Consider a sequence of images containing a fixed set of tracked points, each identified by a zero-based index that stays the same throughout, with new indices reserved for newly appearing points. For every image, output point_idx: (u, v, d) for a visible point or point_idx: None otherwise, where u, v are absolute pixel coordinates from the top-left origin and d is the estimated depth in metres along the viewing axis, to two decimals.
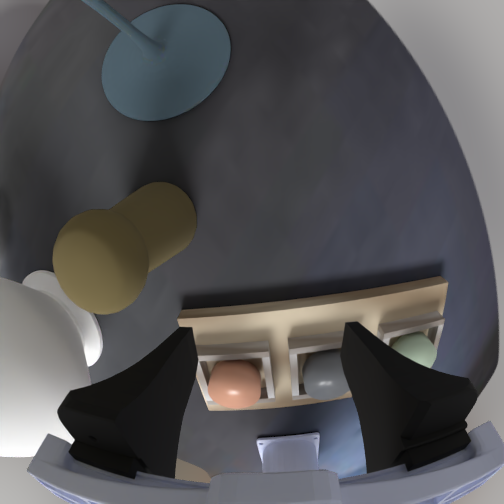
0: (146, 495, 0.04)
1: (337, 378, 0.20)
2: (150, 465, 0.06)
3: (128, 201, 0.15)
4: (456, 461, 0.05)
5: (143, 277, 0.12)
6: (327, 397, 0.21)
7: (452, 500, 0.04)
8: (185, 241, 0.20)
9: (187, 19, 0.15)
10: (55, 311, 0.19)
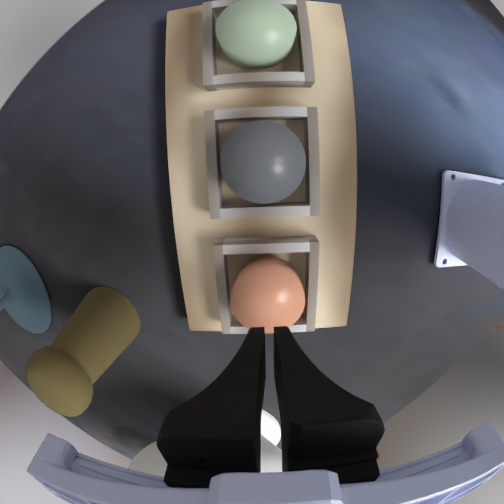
0: (146, 495, 0.04)
1: (254, 151, 0.14)
2: None
3: None
4: (456, 461, 0.05)
5: (52, 359, 0.13)
6: (300, 164, 0.14)
7: (452, 500, 0.04)
8: (110, 303, 0.20)
9: None
10: None
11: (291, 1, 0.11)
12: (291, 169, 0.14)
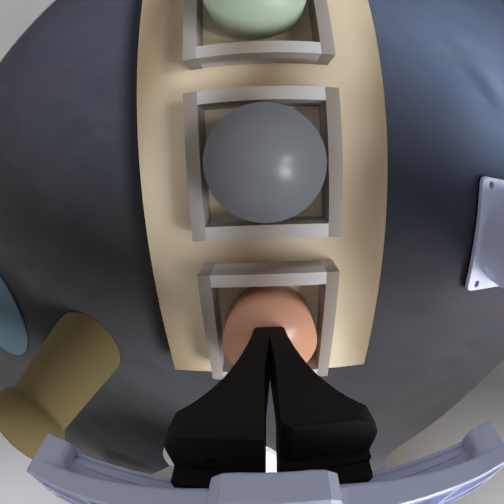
0: (146, 495, 0.04)
1: (252, 147, 0.09)
2: None
3: None
4: (456, 461, 0.05)
5: (14, 405, 0.08)
6: (318, 166, 0.09)
7: (452, 500, 0.04)
8: (82, 334, 0.16)
9: None
10: (163, 471, 0.17)
11: None
12: (306, 173, 0.09)
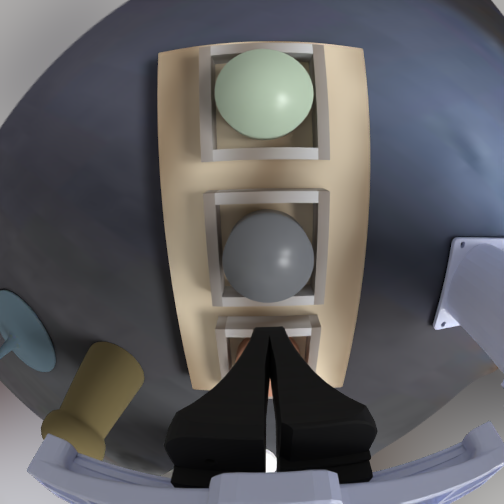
0: (146, 495, 0.04)
1: (259, 251, 0.13)
2: None
3: None
4: (456, 461, 0.05)
5: (66, 426, 0.12)
6: (307, 265, 0.13)
7: (452, 500, 0.04)
8: (114, 362, 0.20)
9: None
10: None
11: (306, 49, 0.11)
12: (297, 270, 0.13)
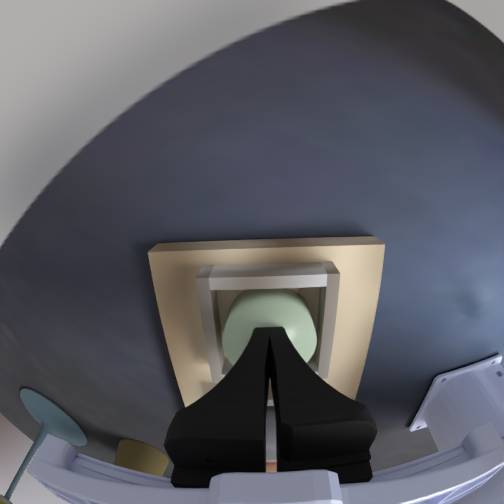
0: (146, 495, 0.04)
1: None
2: None
3: None
4: (456, 461, 0.05)
5: None
6: None
7: (452, 500, 0.04)
8: (145, 458, 0.21)
9: (27, 403, 0.22)
10: None
11: (320, 282, 0.12)
12: None
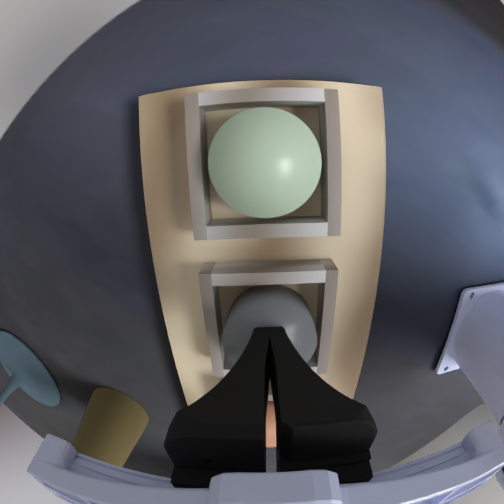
0: (146, 495, 0.04)
1: None
2: None
3: None
4: (456, 461, 0.05)
5: None
6: (310, 345, 0.12)
7: (452, 500, 0.04)
8: (119, 409, 0.18)
9: (0, 351, 0.20)
10: None
11: (317, 96, 0.10)
12: (300, 350, 0.13)
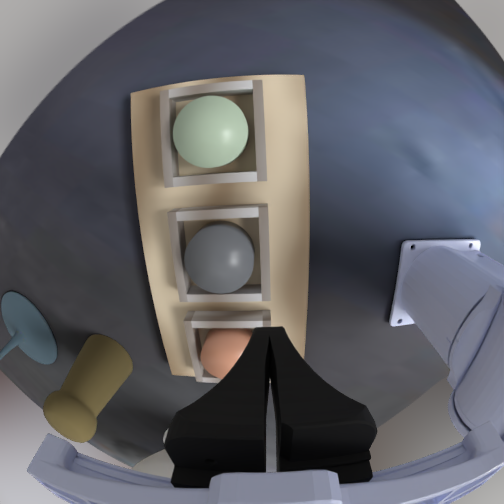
0: (146, 495, 0.04)
1: (211, 254, 0.17)
2: None
3: None
4: (456, 461, 0.05)
5: (64, 403, 0.16)
6: (248, 264, 0.17)
7: (452, 500, 0.04)
8: (106, 351, 0.23)
9: (6, 312, 0.24)
10: (163, 450, 0.24)
11: (247, 85, 0.14)
12: (241, 268, 0.17)
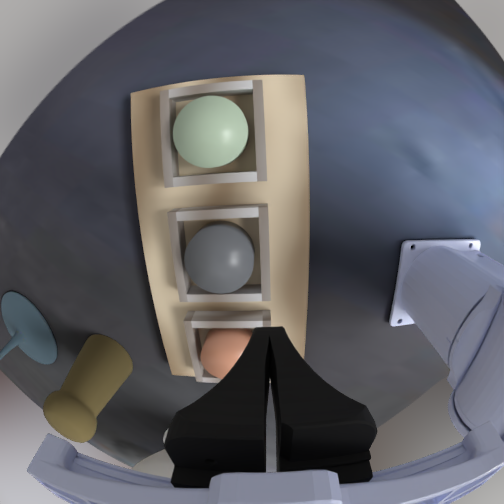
0: (146, 495, 0.04)
1: (211, 254, 0.17)
2: None
3: None
4: (456, 461, 0.05)
5: (64, 403, 0.16)
6: (248, 264, 0.17)
7: (452, 500, 0.04)
8: (106, 351, 0.23)
9: (6, 312, 0.24)
10: (163, 450, 0.24)
11: (247, 85, 0.14)
12: (241, 268, 0.17)
